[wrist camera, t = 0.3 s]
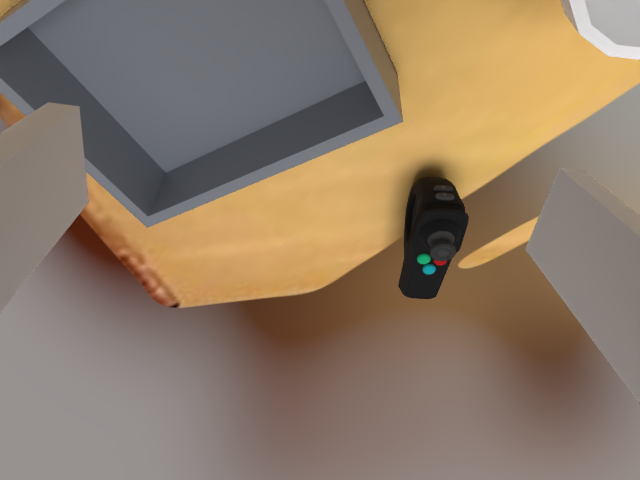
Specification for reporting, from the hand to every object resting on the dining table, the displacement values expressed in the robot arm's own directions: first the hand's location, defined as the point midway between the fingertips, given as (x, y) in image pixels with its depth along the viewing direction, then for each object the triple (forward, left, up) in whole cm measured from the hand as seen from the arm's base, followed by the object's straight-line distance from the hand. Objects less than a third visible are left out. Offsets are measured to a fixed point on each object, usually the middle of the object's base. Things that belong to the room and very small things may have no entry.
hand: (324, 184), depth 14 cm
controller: (+4, +26, -27) cm, 37 cm away
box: (+13, +3, -27) cm, 30 cm away
